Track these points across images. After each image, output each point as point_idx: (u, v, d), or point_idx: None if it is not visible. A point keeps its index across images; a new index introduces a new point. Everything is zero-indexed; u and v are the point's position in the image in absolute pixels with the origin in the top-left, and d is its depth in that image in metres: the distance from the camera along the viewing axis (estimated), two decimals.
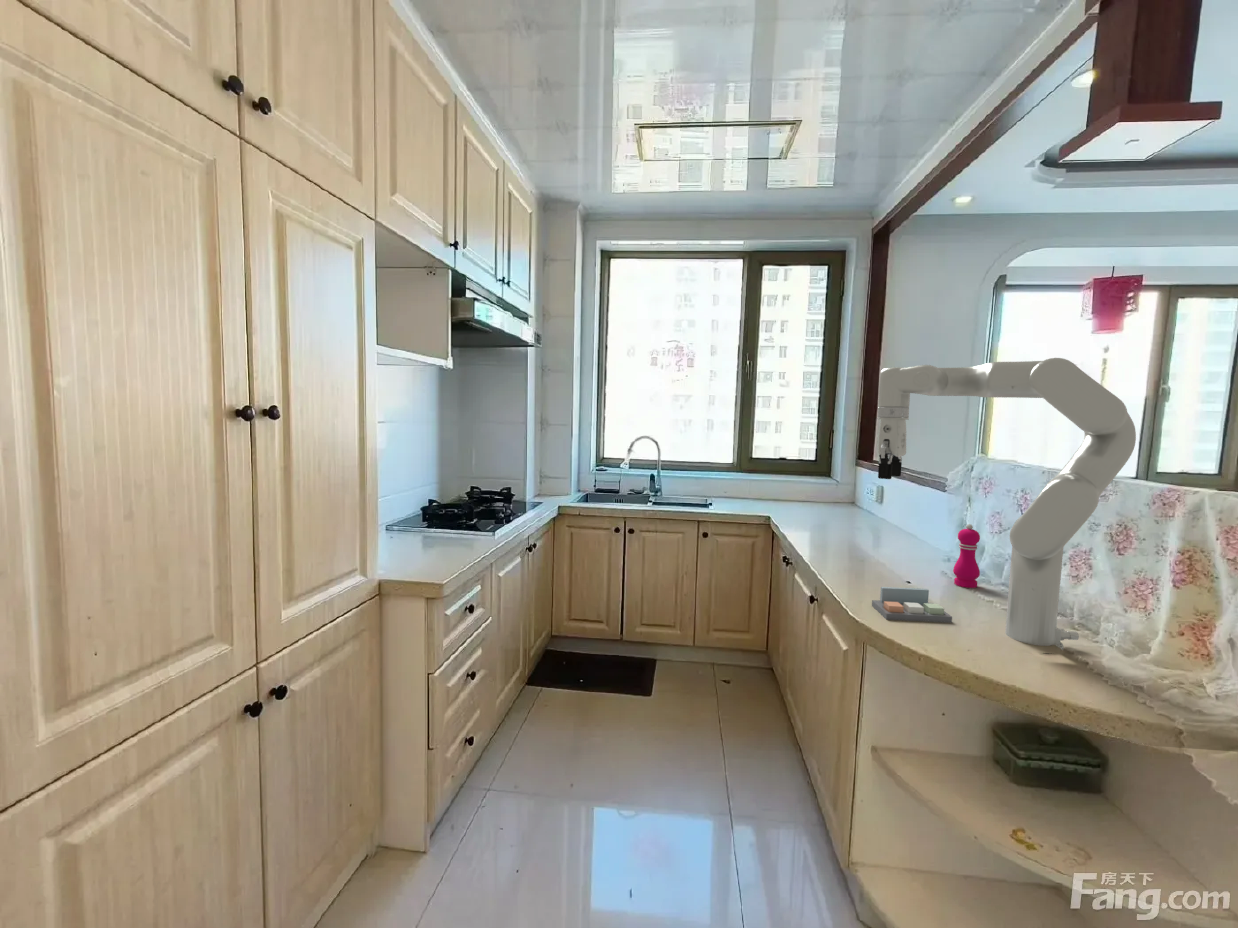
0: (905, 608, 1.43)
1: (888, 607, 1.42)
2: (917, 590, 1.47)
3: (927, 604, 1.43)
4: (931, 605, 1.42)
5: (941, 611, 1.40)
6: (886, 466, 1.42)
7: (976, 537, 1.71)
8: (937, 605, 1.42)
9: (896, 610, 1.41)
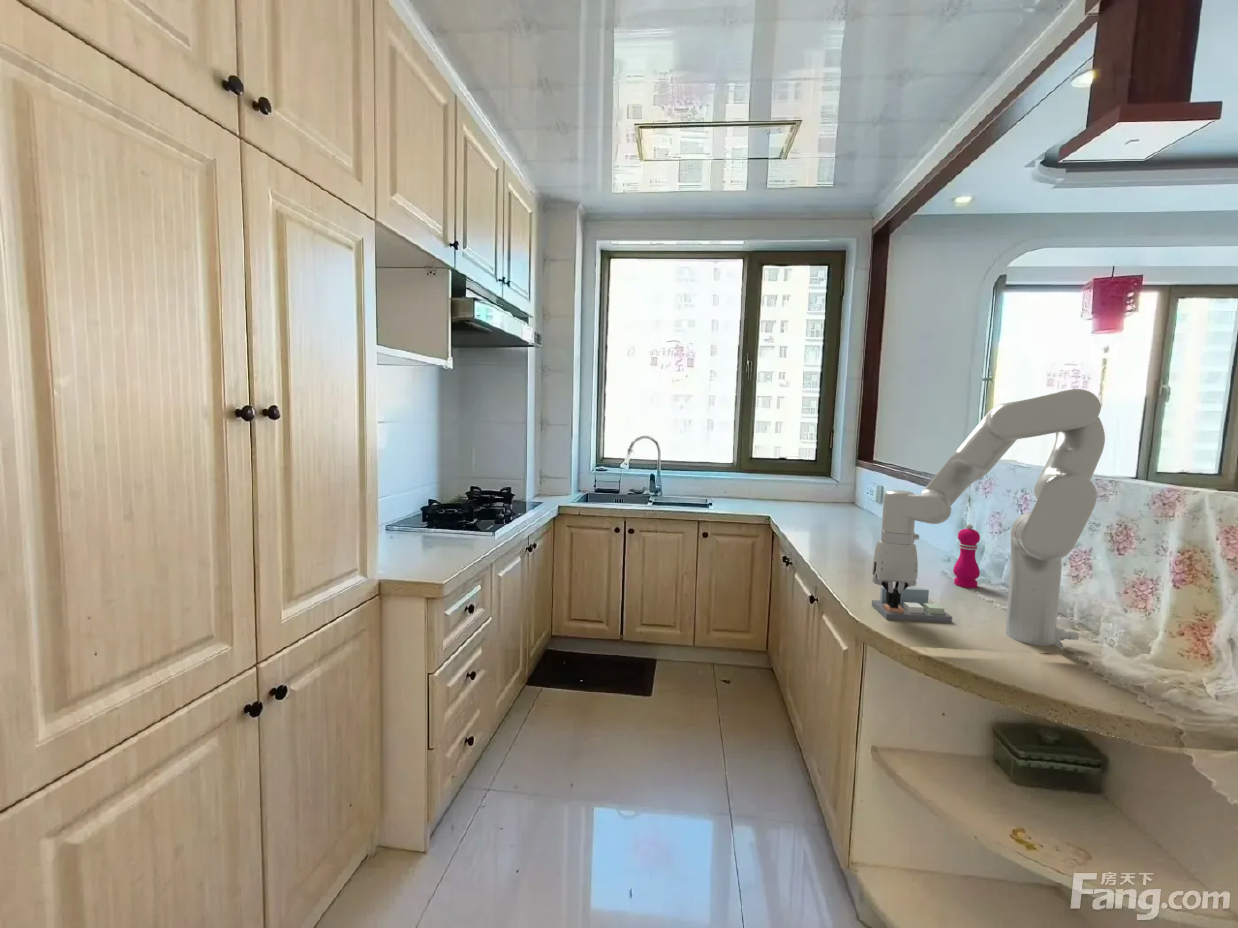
0: (905, 608, 1.43)
1: (888, 610, 1.42)
2: (917, 590, 1.47)
3: (927, 604, 1.43)
4: (931, 605, 1.42)
5: (941, 611, 1.40)
6: None
7: (976, 537, 1.71)
8: (937, 605, 1.42)
9: None
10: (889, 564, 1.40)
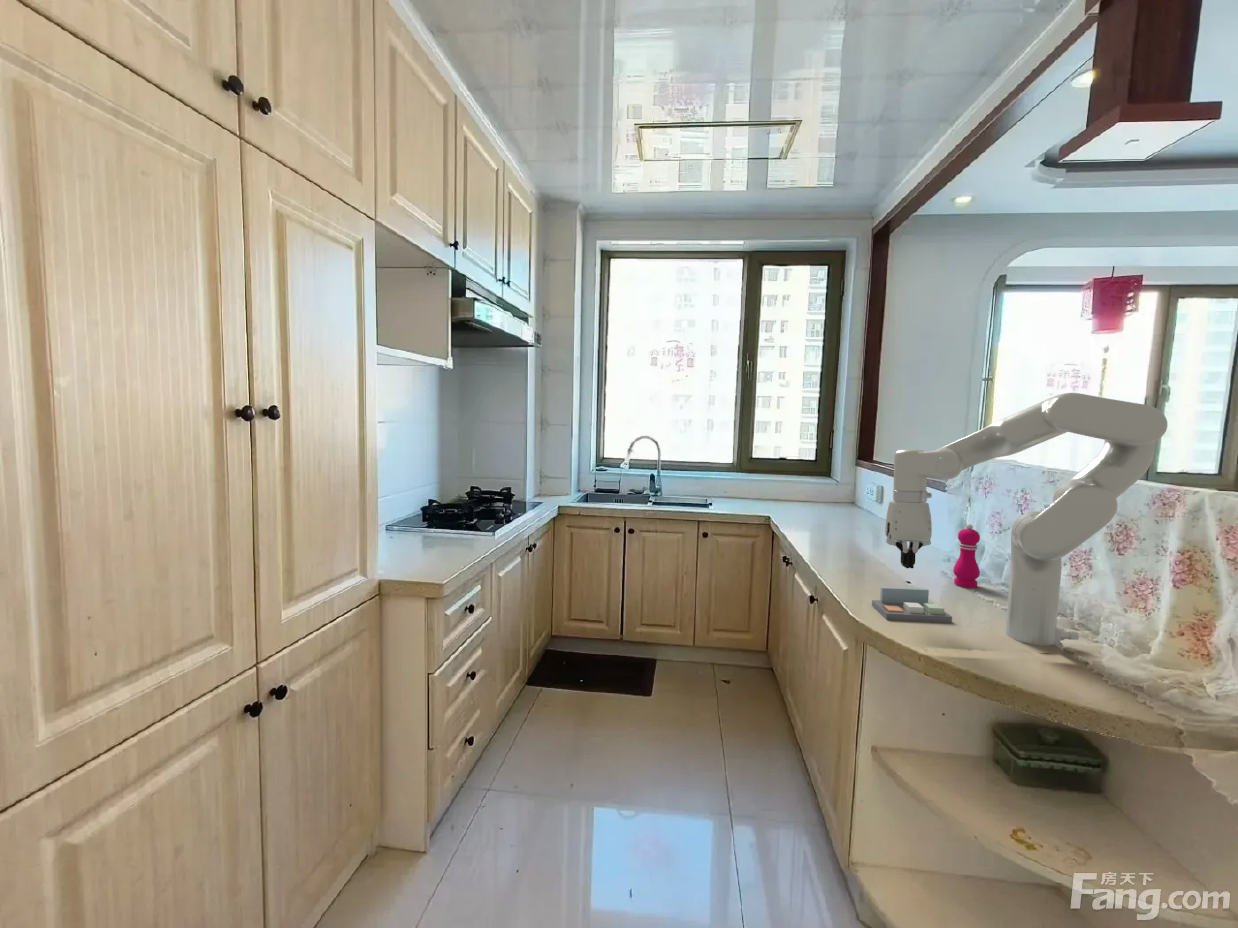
0: (905, 608, 1.43)
1: (888, 611, 1.42)
2: (917, 590, 1.47)
3: (927, 604, 1.43)
4: (931, 605, 1.42)
5: (941, 611, 1.40)
6: None
7: (976, 537, 1.71)
8: (937, 605, 1.42)
9: None
10: (903, 523, 1.38)
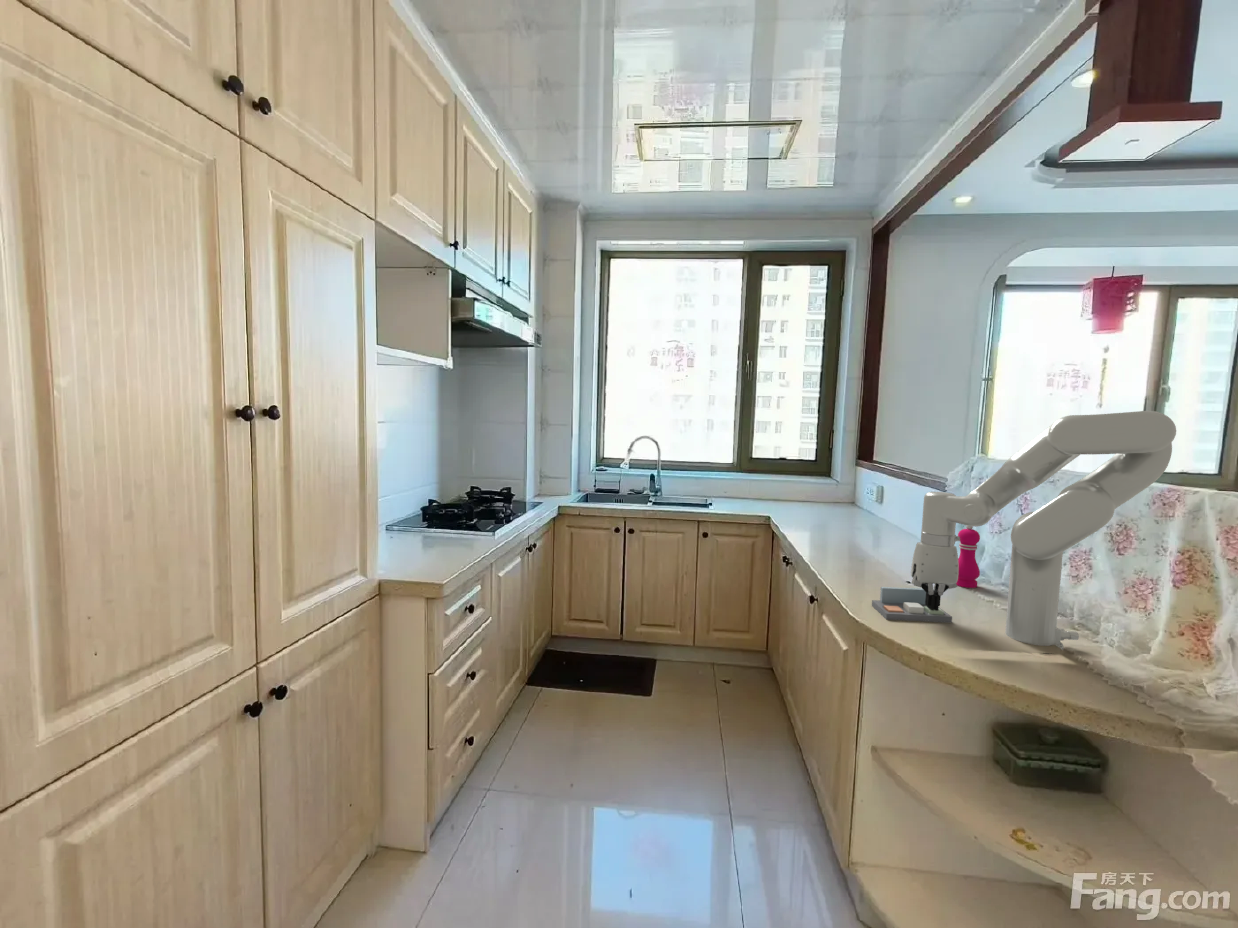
0: (905, 608, 1.43)
1: (888, 611, 1.42)
2: (917, 590, 1.47)
3: (927, 607, 1.43)
4: None
5: None
6: None
7: (976, 537, 1.71)
8: None
9: None
10: (930, 566, 1.39)
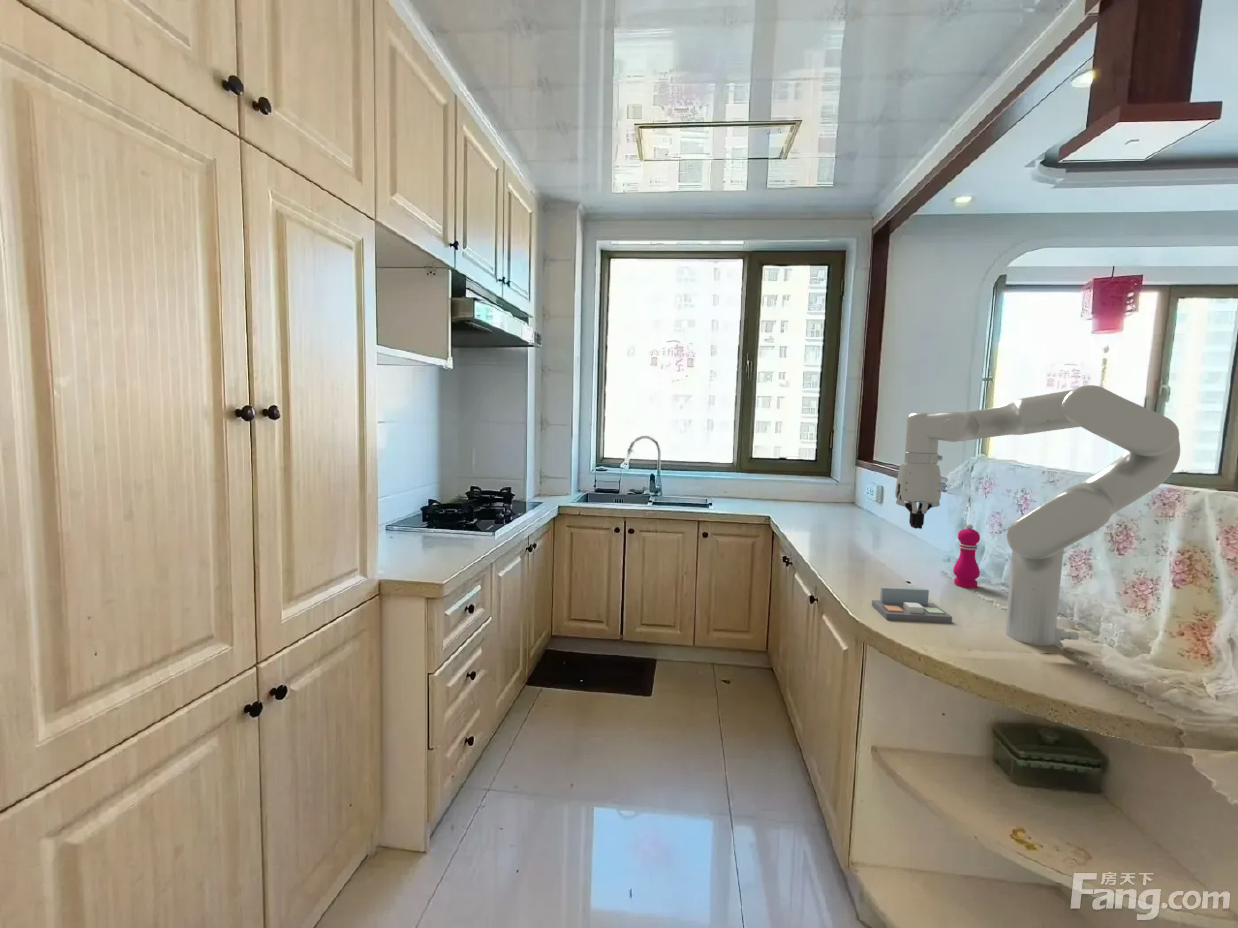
0: (905, 608, 1.43)
1: (888, 611, 1.42)
2: (917, 590, 1.47)
3: (927, 608, 1.43)
4: (931, 609, 1.42)
5: None
6: None
7: (976, 537, 1.71)
8: (937, 609, 1.42)
9: None
10: (913, 484, 1.42)
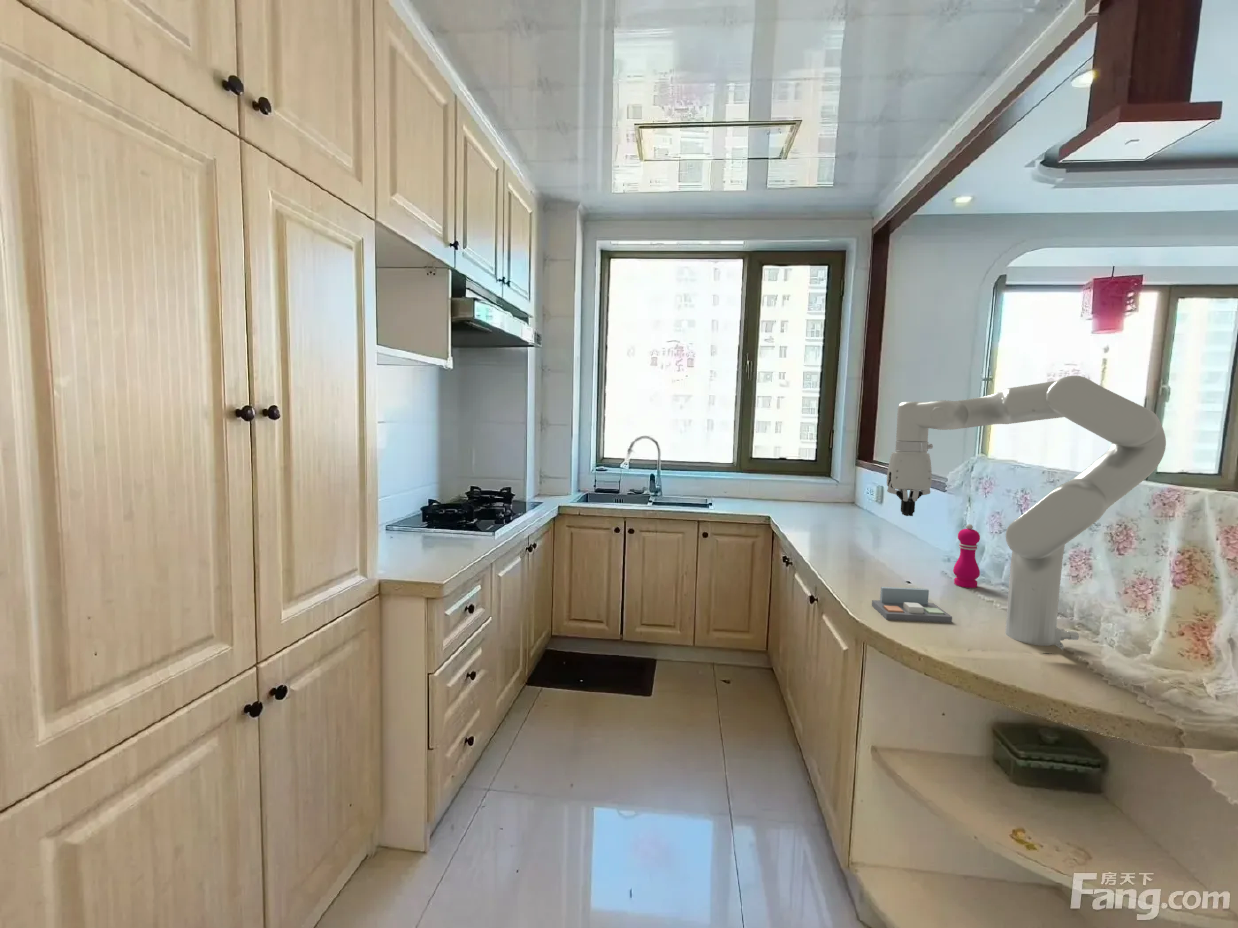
0: (905, 608, 1.43)
1: (888, 611, 1.42)
2: (917, 590, 1.47)
3: (927, 608, 1.43)
4: (931, 609, 1.42)
5: None
6: None
7: (976, 537, 1.71)
8: (937, 609, 1.42)
9: None
10: (904, 472, 1.44)
